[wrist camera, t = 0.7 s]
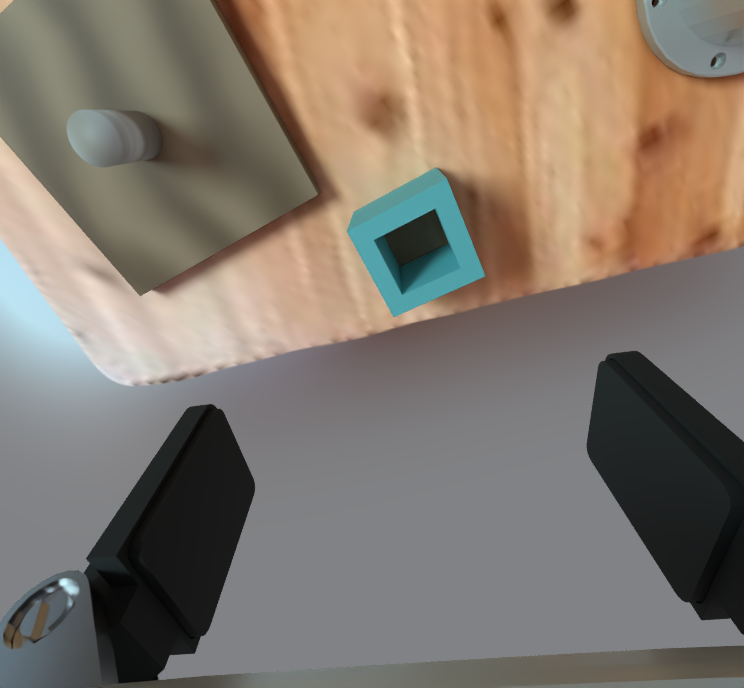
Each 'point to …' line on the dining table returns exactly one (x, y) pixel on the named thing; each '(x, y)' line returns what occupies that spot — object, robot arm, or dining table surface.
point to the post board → (184, 101)
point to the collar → (429, 271)
